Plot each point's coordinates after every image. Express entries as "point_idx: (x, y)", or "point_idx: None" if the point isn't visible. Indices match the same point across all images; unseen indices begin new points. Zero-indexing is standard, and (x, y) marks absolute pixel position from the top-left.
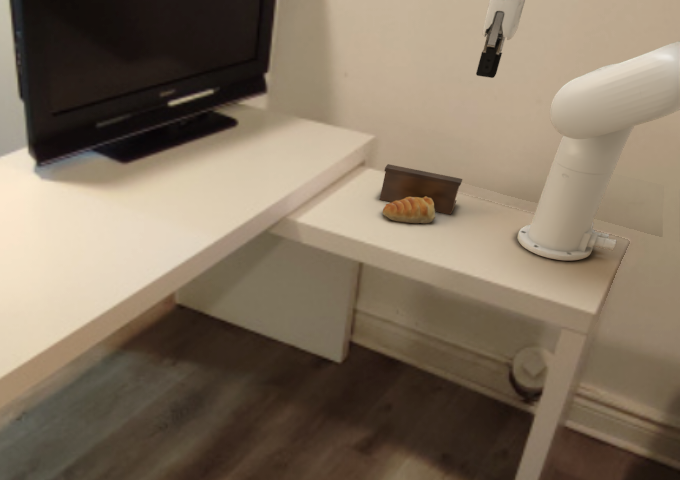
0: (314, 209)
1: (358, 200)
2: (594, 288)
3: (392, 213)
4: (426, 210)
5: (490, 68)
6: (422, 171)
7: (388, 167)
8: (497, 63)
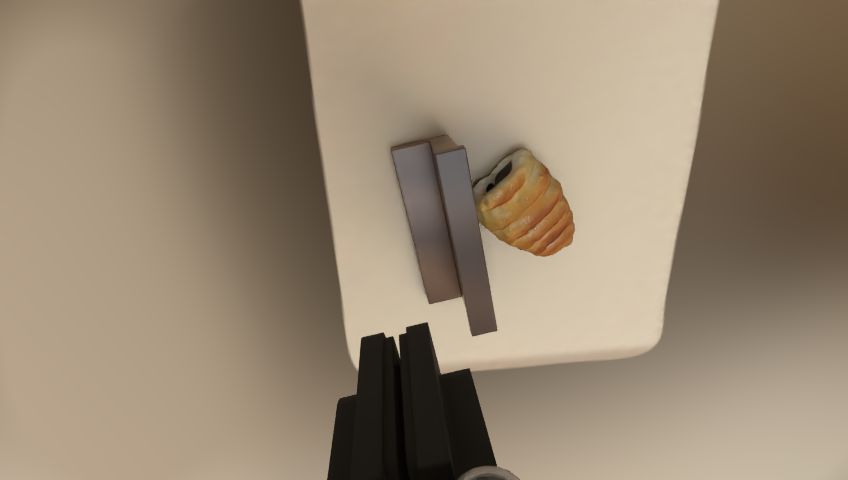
0: (596, 346)
1: (507, 312)
2: None
3: (574, 227)
4: (544, 171)
5: (475, 392)
6: (460, 257)
7: (491, 325)
8: (438, 397)
